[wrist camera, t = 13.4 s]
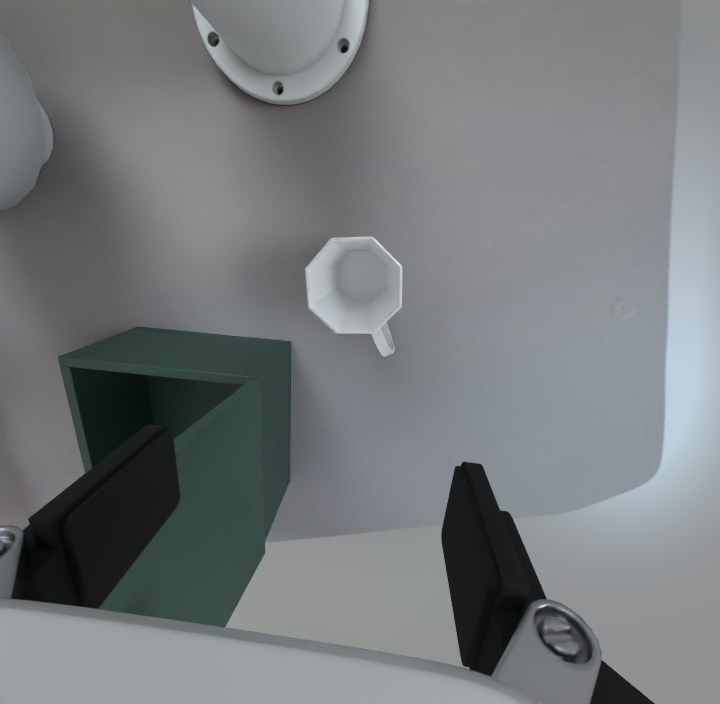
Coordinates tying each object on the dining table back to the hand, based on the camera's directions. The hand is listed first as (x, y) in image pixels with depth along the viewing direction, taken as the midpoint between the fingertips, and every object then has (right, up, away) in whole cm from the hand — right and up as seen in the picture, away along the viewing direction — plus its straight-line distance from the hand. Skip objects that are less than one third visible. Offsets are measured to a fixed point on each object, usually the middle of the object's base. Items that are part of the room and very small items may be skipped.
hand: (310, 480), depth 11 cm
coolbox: (-13, -2, +25) cm, 29 cm away
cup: (+2, +10, +20) cm, 23 cm away
